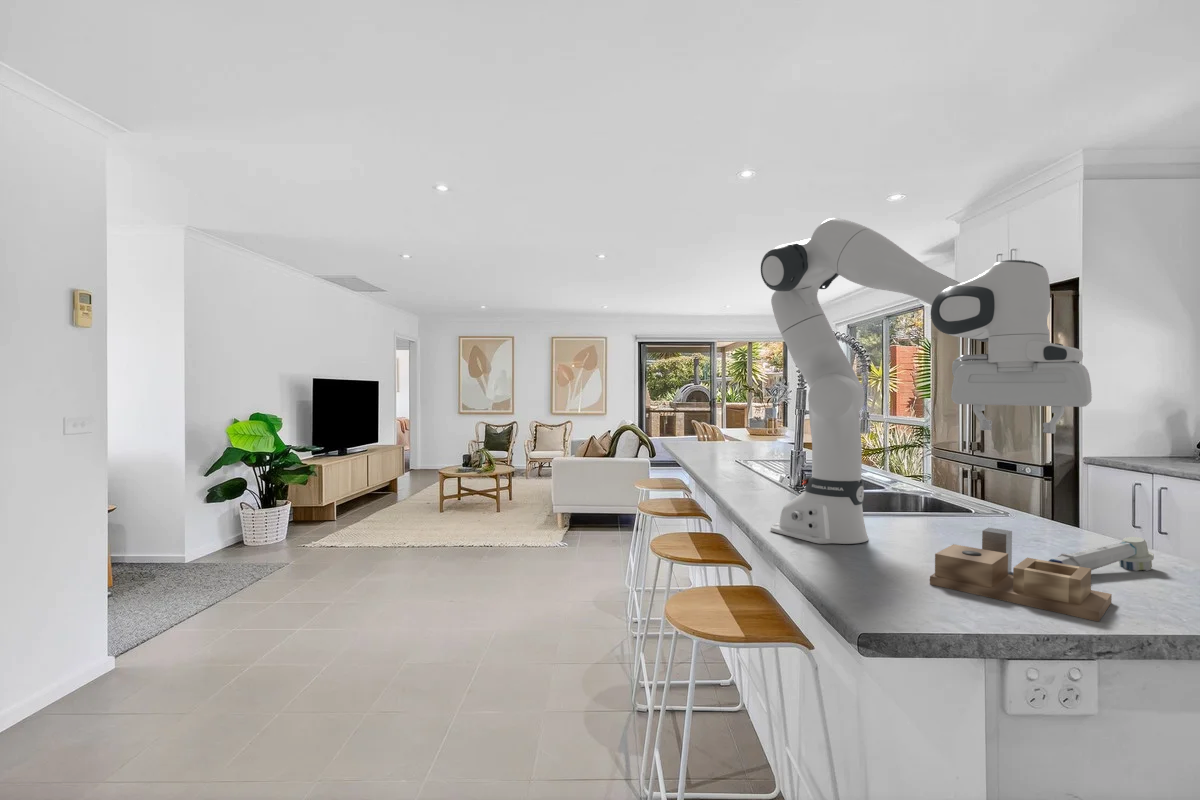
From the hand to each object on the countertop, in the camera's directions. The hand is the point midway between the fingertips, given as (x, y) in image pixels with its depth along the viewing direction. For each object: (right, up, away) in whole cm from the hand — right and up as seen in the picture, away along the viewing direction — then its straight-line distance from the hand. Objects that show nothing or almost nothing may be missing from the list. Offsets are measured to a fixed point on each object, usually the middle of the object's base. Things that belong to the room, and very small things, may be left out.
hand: (1016, 431), depth 106 cm
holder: (0, -28, -1) cm, 28 cm away
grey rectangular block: (+4, -28, +12) cm, 31 cm away
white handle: (+25, -29, +12) cm, 39 cm away
